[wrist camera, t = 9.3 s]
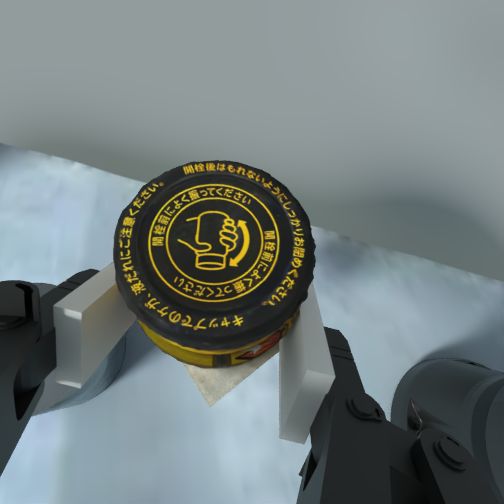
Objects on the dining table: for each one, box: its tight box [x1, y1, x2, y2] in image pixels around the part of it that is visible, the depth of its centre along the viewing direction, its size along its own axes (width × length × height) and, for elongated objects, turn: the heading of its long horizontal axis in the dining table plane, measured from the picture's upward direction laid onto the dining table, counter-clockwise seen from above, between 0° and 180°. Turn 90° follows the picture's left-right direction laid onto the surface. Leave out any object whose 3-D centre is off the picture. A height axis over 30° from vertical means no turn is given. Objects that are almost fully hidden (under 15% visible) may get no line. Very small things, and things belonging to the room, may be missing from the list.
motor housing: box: [32, 283, 126, 416], centre depth 25 cm, size 10×10×10 cm
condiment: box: [113, 160, 316, 407], centre depth 13 cm, size 7×8×12 cm
